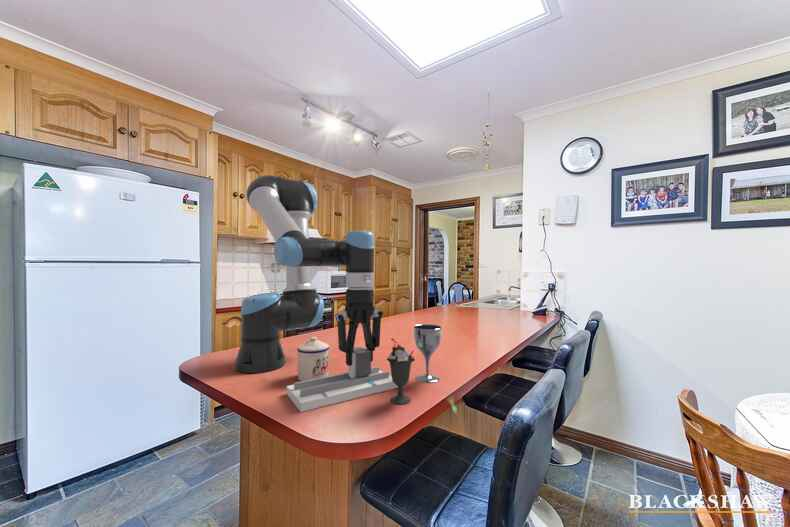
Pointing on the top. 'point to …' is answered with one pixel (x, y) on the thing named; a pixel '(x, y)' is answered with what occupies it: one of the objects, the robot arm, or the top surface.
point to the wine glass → (427, 347)
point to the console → (338, 389)
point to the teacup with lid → (313, 359)
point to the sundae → (400, 371)
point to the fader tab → (362, 361)
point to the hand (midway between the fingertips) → (359, 375)
